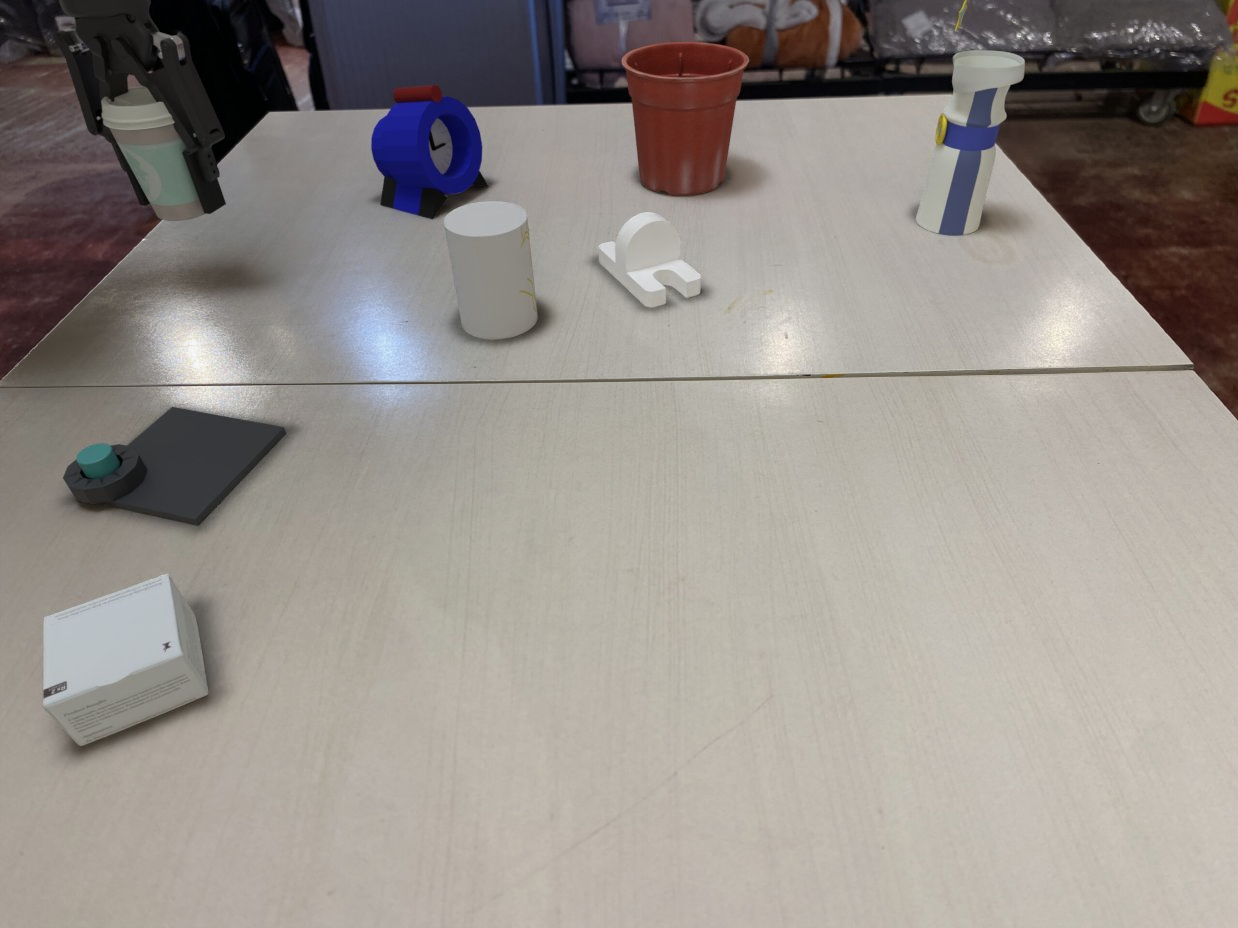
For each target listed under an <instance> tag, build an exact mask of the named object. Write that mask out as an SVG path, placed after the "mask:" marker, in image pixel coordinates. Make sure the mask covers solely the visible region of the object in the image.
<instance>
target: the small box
mask: <svg viewBox="0 0 1238 928" xmlns="http://www.w3.org/2000/svg"><path fill="white" fill-rule="evenodd" d="M42 632H43V633H42V638H43V639H42V641H43V646H42V647H43V651H42V652H43V653H42V654H43V656H42V657H43V658H42V659H43V660H42V661H43V662H42V663H43V666H42V667H43V668H42V706H41V707H42V709H43V710H44V711H45V712H46V713H47V714H48V715H49V716H50V717H51V718H52V719H53V720H54V721H55V722H56V723H57V724H58V725H59V726H60V727H61V728H62V729H63V730H64V731H65V733H67V735H68V736H69V737H70V738H71V740H73V741H74V742H75V743H76V744H77V746H79V747H83V746H86V745H88V744H91V743H93V742H96V741H98V740H101V739H104V738H107V737H109V736H111V735H114V734H117V733H119V732H121V731H124V730H126V729H129V728H132V727H133V726H136V725H138V724H141V723H143V722H146V721H148V720H151V719H153V718H156V717H158V716H161V715H163V714H165V713H167V712H170V711H173V710H175V709H178V708H180V707H182V706H185V705H187V704H190V703H192V702H194V701H196V700H199V699H201V698H203V697H206V696H208V695H209V687H208V681H207V673H206V669H205V668H206V667H205V662H204V661H205V660H204V656H203V650H202V643H201V637H200V631H199V626H198V622H197V618H196V615H195V612H194V611H193V609H192V608H191V607H190V605H189V603H188V602H187V601H186V599H185V597H184V596H183V594H182V593H181V591H180V590H179V588H178V586H177V585H176V583H175V581H174V580H173V578H172V576H171V575H170V573H168V572H167V573H163V574H161V575H158V576H155V577H153V578H150V579H147V580H144V581H142V582H139V583H136V584H133V585H131V586H128V587H126V588H123V589H119V590H117V591H114V592H111V593H109V594H105V595H103V596H101V597H97V598H94V599H92V600H89V601H86V602H84V603H81V604H77V605H75V606H73V607H70V608H67V609H63V610H61V611H58V612H56V613H52V614H50V615H46V616H44V617H43V631H42Z"/></svg>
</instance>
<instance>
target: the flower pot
mask: <svg viewBox="0 0 1238 928" xmlns="http://www.w3.org/2000/svg"><path fill="white" fill-rule="evenodd" d="M749 63H750V58H749V56H748V55H747V54H746V53H745V52H743V51H742V50H739V49H738V48H735V47H732V46H727V45H722V44H717V43H712V42H711V43H709V42H701V41H672V42H663V43H662V42H661V43H656V44H655V43H654V44H649V45H645V46H641V47H638V48H635V49H632V50H630V51H629V52H627V53H625V54H624V55H623V56H622V58H621V66H622V67H623V68H622V69H624V70H625V73H626V81H627V90H628V94H629V96H630V98H631V107H632V115H633V125H634V126H633V127H634V133H635V135H634V136H635V145H636V156H637V164H638V165H637V166H638V172H639V173H638V174H639V175H638V176H639V181H640V183H641V184H642V185H643V186H644V187H646V188H647V189H649V190H651V191H653V192H655V193H659V192H660V191H664V192H666V193H668V195H670V196H686V197H688V196H696V195H702V194H704V193H708V192H712V191H714V190H716V189H717V187H718V186H719V184H723V183H724V181H725V176H726V170H727V165H728V164H727V163H728V157H729V151H730V145H731V137H732V131H733V124H734V118H735V111H736V105H737V99H738V96H739V95H740V93H741V88H742V82H743V74H744V70H745V69H746V68H747V67H748V65H749Z"/></svg>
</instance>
